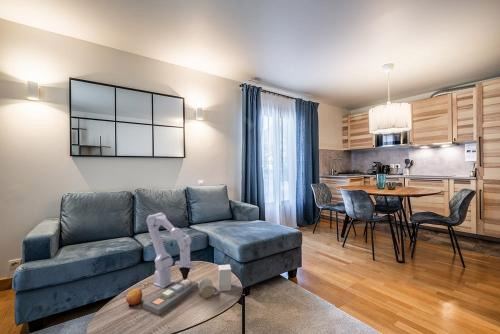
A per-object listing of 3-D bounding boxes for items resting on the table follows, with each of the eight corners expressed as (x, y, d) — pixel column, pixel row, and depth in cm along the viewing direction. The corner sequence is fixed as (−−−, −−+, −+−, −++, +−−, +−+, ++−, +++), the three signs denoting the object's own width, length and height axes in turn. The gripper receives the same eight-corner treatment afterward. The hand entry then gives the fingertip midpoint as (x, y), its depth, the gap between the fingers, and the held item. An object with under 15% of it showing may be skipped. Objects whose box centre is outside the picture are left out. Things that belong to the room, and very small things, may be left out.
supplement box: (231, 290, 137) (231, 269, 136) (218, 291, 135) (218, 270, 135) (230, 284, 144) (230, 263, 144) (218, 285, 143) (218, 264, 142)
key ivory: (179, 285, 137) (179, 282, 137) (185, 282, 141) (185, 279, 141) (185, 287, 135) (185, 284, 135) (190, 284, 139) (190, 280, 139)
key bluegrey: (171, 290, 131) (171, 287, 131) (177, 287, 135) (177, 283, 135) (176, 292, 129) (176, 289, 129) (182, 289, 133) (182, 285, 133)
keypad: (142, 308, 120) (142, 302, 120) (183, 283, 145) (183, 278, 145) (158, 315, 114) (158, 309, 114) (198, 287, 139) (198, 283, 139)
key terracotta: (151, 306, 120) (151, 302, 120) (158, 301, 124) (158, 297, 124) (157, 308, 118) (157, 304, 118) (164, 303, 122) (164, 300, 122)
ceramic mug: (201, 300, 127) (201, 286, 127) (198, 292, 135) (199, 279, 134) (220, 296, 131) (220, 283, 131) (216, 289, 138) (217, 276, 138)
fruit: (148, 295, 129) (142, 287, 125) (139, 310, 123) (132, 301, 119) (137, 293, 132) (131, 284, 128) (127, 307, 125) (120, 298, 121)
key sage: (162, 296, 126) (162, 293, 126) (168, 292, 130) (168, 289, 130) (167, 298, 124) (167, 295, 124) (174, 294, 128) (174, 291, 128)
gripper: (171, 256, 138) (171, 279, 138) (189, 261, 131) (189, 284, 131) (179, 252, 144) (180, 274, 144) (197, 256, 137) (198, 279, 137)
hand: (185, 278), depth 138 cm, fingers closed
